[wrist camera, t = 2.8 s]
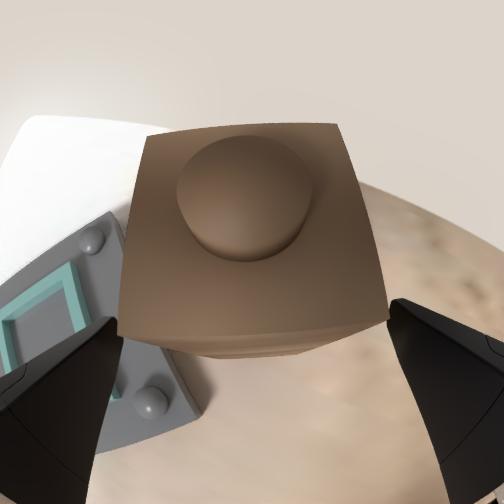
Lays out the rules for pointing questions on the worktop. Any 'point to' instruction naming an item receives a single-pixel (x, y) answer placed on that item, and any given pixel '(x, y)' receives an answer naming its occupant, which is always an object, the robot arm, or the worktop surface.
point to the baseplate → (83, 314)
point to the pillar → (248, 243)
